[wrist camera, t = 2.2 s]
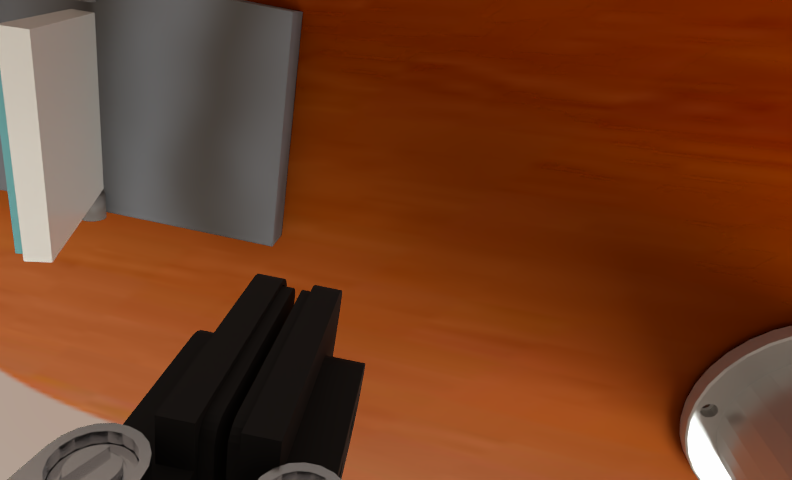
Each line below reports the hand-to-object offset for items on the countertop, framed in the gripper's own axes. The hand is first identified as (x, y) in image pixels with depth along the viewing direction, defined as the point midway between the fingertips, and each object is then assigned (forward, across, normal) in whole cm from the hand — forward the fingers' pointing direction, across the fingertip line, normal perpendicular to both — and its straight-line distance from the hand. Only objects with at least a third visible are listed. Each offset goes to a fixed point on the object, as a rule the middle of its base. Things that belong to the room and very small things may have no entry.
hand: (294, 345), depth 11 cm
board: (+17, +14, 0) cm, 22 cm away
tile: (+11, +12, 0) cm, 16 cm away
